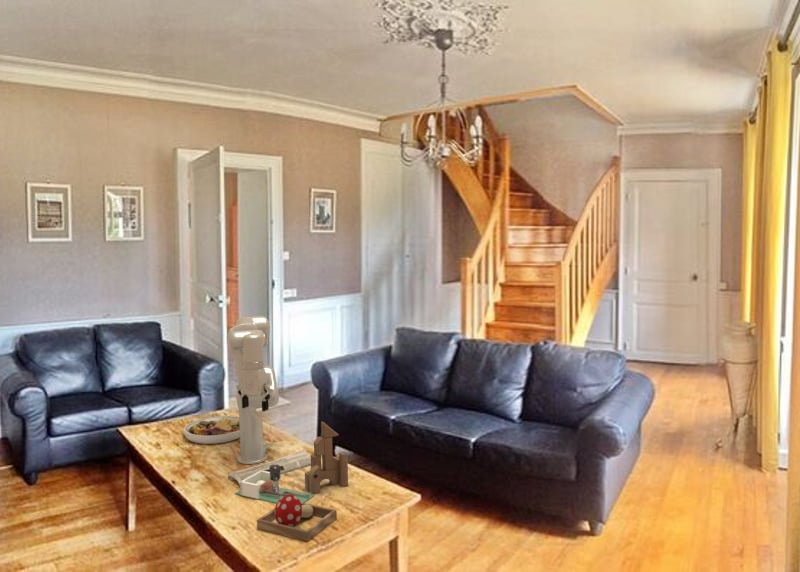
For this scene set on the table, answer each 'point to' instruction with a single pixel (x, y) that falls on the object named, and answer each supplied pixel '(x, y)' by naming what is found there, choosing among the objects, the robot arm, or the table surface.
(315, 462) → the wooden toy
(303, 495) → the rail
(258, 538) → the table surface
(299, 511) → the decorative mushroom
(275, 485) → the knobbed pusher
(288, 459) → the newspaper
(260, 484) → the ball
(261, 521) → the display tray
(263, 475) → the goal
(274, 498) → the green railed board
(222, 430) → the bowl
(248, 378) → the robot arm
